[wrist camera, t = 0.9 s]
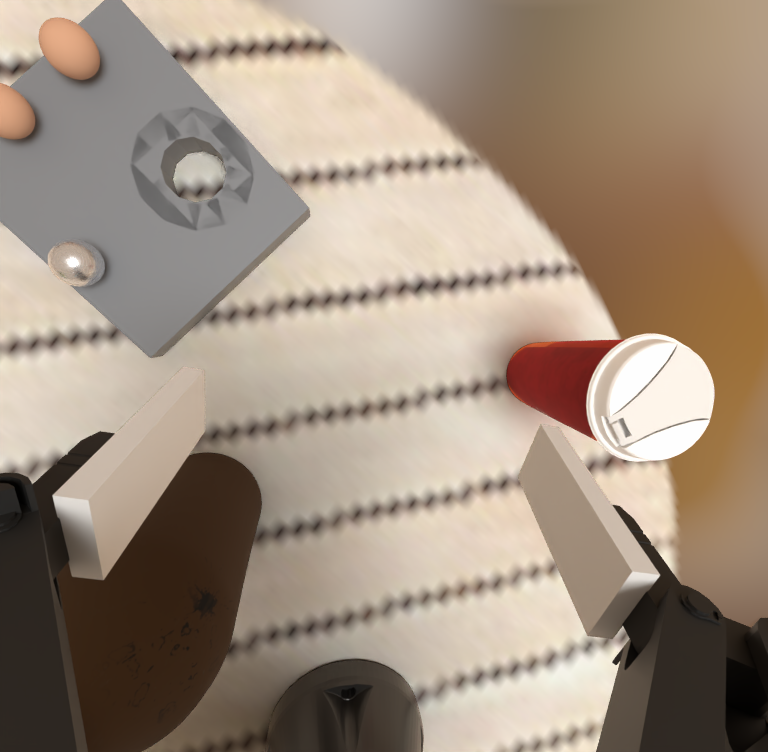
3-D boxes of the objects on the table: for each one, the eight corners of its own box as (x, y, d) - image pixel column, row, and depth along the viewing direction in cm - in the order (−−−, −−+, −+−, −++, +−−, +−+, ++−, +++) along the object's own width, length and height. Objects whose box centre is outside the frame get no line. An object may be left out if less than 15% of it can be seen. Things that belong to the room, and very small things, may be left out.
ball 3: (91, 297, 30) (65, 294, 27) (56, 264, 30) (24, 257, 26) (123, 267, 30) (100, 261, 27) (88, 234, 30) (60, 224, 26)
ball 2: (86, 99, 29) (57, 72, 25) (48, 60, 28) (13, 27, 25) (119, 69, 29) (94, 37, 26) (82, 29, 28) (52, -8, 25)
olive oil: (184, 422, 35) (-149, 657, 10) (291, 481, 37) (230, 796, 12) (118, 525, 35) (-361, 997, 10) (229, 578, 37) (46, 1077, 12)
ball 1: (23, 157, 28) (-14, 136, 25) (-16, 119, 28) (-59, 93, 25) (57, 126, 29) (24, 102, 25) (18, 88, 28) (-20, 58, 25)
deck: (162, 355, 34) (150, 357, 31) (-37, 172, 30) (-69, 158, 28) (310, 216, 34) (309, 207, 32) (130, 18, 30) (113, -9, 28)
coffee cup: (518, 431, 40) (635, 493, 25) (479, 359, 38) (579, 381, 23) (588, 386, 40) (743, 421, 25) (553, 313, 39) (695, 306, 24)
